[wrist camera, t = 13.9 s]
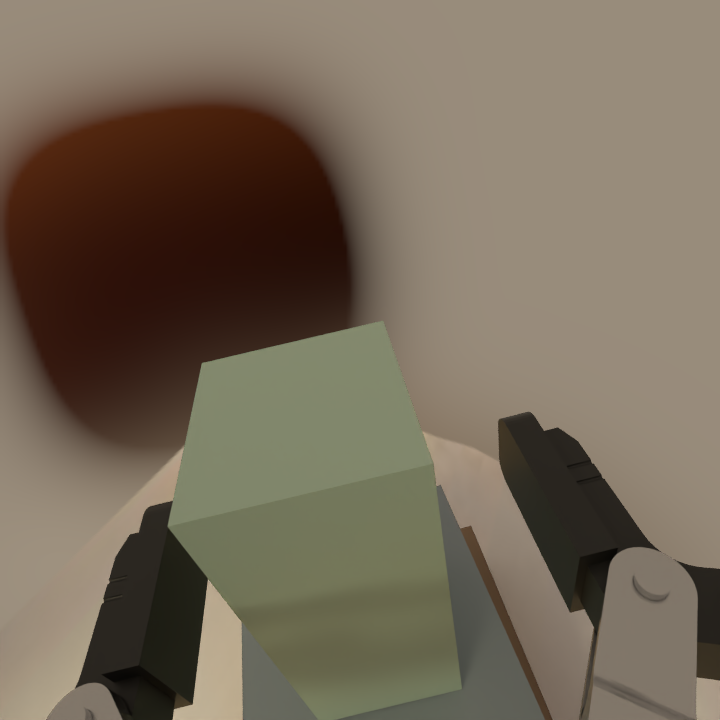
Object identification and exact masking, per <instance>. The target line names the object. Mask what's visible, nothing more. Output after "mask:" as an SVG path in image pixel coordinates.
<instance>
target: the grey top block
mask: <svg viewBox="0 0 720 720" xmlns="http://www.w3.org/2000/svg"><path fill="white" fill-rule="evenodd" d="M436 488H437V496H438V504H439V512H440V520H441V528H442V536H443V543H444V551H445V559H446V567H447V575H448V583H449V590H450V598H451V606H452V614H453V622H454V630H455V638H456V645H457V653H458V661H459V669H460V677H461V685H462V689H461V690H457V691H453V692H448V693H444V694H440V695H436V696H432V697H428V698H423V699H419V700H415V701H411V702H407V703H403V704H398V705H394V706H390V707H386V708H382V709H378V710H374V711H369V712H365V713H361V714H357V715H353V716H349V717H344V718H340V719H336V720H545V718H544V716H543V714H542V712H541V709H540V707H539V705H538V703H537V700H536V698H535V696H534V694H533V691H532V689H531V687H530V685H529V682H528V680H527V678H526V676H525V674H524V671H523V669H522V667H521V665H520V662H519V660H518V658H517V656H516V653H515V651H514V649H513V647H512V644H511V642H510V640H509V638H508V635H507V633H506V631H505V629H504V626H503V624H502V622H501V620H500V617H499V615H498V613H497V611H496V608H495V606H494V604H493V602H492V599H491V597H490V595H489V593H488V590H487V588H486V586H485V584H484V582H483V579H482V577H481V575H480V573H479V570H478V568H477V566H476V564H475V561H474V559H473V557H472V555H471V552H470V550H469V548H468V546H467V543H466V541H465V539H464V537H463V534H462V532H461V530H460V528H459V525H458V523H457V521H456V519H455V516H454V514H453V512H452V510H451V507H450V505H449V503H448V501H447V498H446V496H445V494H444V492H443V490H442V487H441V485H439V486H436ZM242 679H243V720H318V719H317V718H316V716H315V715H314V714H313V712H312V711H311V710H310V709H309V707H308V706H307V705H306V704H305V702H304V701H303V700H302V698H301V697H300V696H299V695H298V693H297V692H296V691H295V689H294V688H293V687H292V686H291V684H290V683H289V682H288V680H287V679H286V678H285V677H284V675H283V674H282V673H281V671H280V670H279V669H278V668H277V666H276V665H275V664H274V662H273V661H272V660H271V659H270V657H269V656H268V655H267V654H266V652H265V651H264V650H263V648H262V647H261V646H260V645H259V643H258V642H257V641H256V639H255V638H254V637H253V636H252V634H251V633H250V632H249V630H248V629H247V628H246V627H245V625H244V624H243V623H242Z"/></svg>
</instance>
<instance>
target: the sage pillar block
mask: <svg viewBox="0 0 720 720" xmlns="http://www.w3.org/2000/svg"><path fill="white" fill-rule="evenodd" d="M168 528H169V529H170V530H171V532H172V533H173V534H174V536H175V537H176V538H177V539H178V541H179V542H180V543H181V545H182V546H183V547H184V548H185V550H186V551H187V552H188V553H189V555H190V556H191V557H192V559H193V560H194V561H195V562H196V564H197V565H198V566H199V568H200V569H201V570H202V571H203V573H204V574H205V575H206V577H207V578H208V579H209V580H210V582H211V583H212V584H213V586H214V587H215V588H216V589H217V591H218V592H219V593H220V595H221V596H222V597H223V598H224V600H225V601H226V602H227V603H228V605H229V606H230V607H231V609H232V610H233V611H234V612H235V614H236V615H237V616H238V618H239V619H240V620H241V621H242V623H243V624H244V625H245V627H246V628H247V629H248V630H249V632H250V633H251V634H252V636H253V637H254V638H255V639H256V641H257V642H258V643H259V645H260V646H261V647H262V648H263V650H264V651H265V652H266V654H267V655H268V656H269V657H270V659H271V660H272V661H273V662H274V664H275V665H276V666H277V668H278V669H279V670H280V671H281V673H282V674H283V675H284V677H285V678H286V679H287V680H288V682H289V683H290V684H291V686H292V687H293V688H294V689H295V691H296V692H297V693H298V695H299V696H300V697H301V698H302V700H303V701H304V702H305V704H306V705H307V706H308V707H309V709H310V710H311V711H312V712H313V714H314V715H315V716H316V718H317V719H318V720H336V719H340V718H344V717H349V716H353V715H357V714H361V713H365V712H369V711H374V710H378V709H382V708H386V707H390V706H394V705H398V704H403V703H407V702H411V701H415V700H419V699H423V698H428V697H432V696H436V695H440V694H444V693H448V692H453V691H457V690H461V689H462V685H461V677H460V669H459V661H458V653H457V645H456V638H455V630H454V622H453V614H452V606H451V598H450V590H449V583H448V575H447V567H446V559H445V551H444V543H443V536H442V528H441V520H440V512H439V504H438V496H437V488H436V481H435V473H434V465H433V461H432V458H431V456H430V453H429V450H428V447H427V444H426V441H425V438H424V436H423V433H422V430H421V427H420V424H419V421H418V419H417V416H416V413H415V410H414V407H413V405H412V402H411V399H410V396H409V393H408V390H407V387H406V384H405V382H404V379H403V376H402V373H401V370H400V368H399V365H398V362H397V359H396V356H395V353H394V350H393V347H392V345H391V342H390V339H389V336H388V333H387V331H386V327H385V325H384V322H383V321H380V322H376V323H372V324H367V325H363V326H359V327H354V328H351V329H346V330H342V331H337V332H333V333H329V334H325V335H320V336H316V337H312V338H308V339H304V340H299V341H295V342H291V343H286V344H282V345H278V346H274V347H269V348H265V349H261V350H256V351H253V352H248V353H244V354H240V355H235V356H231V357H227V358H222V359H218V360H214V361H210V362H205V363H202V366H201V371H200V376H199V380H198V385H197V390H196V394H195V399H194V404H193V409H192V413H191V418H190V423H189V427H188V433H187V437H186V442H185V446H184V451H183V456H182V460H181V465H180V470H179V475H178V479H177V484H176V489H175V494H174V498H173V503H172V508H171V512H170V517H169V522H168Z"/></svg>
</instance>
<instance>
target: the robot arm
mask: <svg viewBox="0 0 720 720" xmlns="http://www.w3.org/2000/svg"><path fill="white" fill-rule="evenodd" d="M498 431H499V432H498V433H499V460H500V465H501V469H502V472H503V475H504V478H505V480H506V483H507V485H508V487H509V489H510V491H511V493H512V495H513V497H514V499H515V501H516V503H517V505H518V507H519V509H520V511H521V513H522V515H523V517H524V519H525V521H526V524H527V526H528V528H529V530H530V532H531V534H532V536H533V538H534V540H535V542H536V544H537V546H538V548H539V550H540V552H541V554H542V556H543V558H544V560H545V562H546V564H547V566H548V568H549V570H550V572H551V574H552V577H553V579H554V581H555V583H556V585H557V587H558V589H559V591H560V593H561V595H562V597H563V599H564V601H565V603H566V605H567V607H568V609H569V611H570V612H574V611H578V610H582V609H585V611H586V613H587V615H588V616H589V618H590V620H591V622H592V624H593V626H594V629H593V635H592V641H591V647H590V654H589V660H588V666H587V673H586V679H585V685H584V691H583V698H582V704H581V710H580V716H579V720H697V718H696V677H699V678H706V679H714V680H720V569H714V568H702V567H695V566H691V565H687V564H684V563H681V562H678V561H676V560H674V559H672V558H671V557H669V556H667V555H666V554H664V553H662V552H661V551H659V550H658V549H657V548H655V547H654V546H653V545H652V544H651V543H650V542H649V541H648V540H647V538H646V537H645V536H644V535H643V533H642V532H641V530H640V529H639V527H637V525H636V523H635V522H634V520H633V519H632V518H631V516H630V515H629V513H628V512H627V510H626V509H625V508H624V506H623V505H622V503H621V502H620V500H619V499H618V498H617V496H616V495H615V493H614V492H613V491H612V489H611V488H610V486H609V485H608V484H607V482H606V481H605V479H603V478H602V476H601V474H600V473H599V471H598V470H597V468H596V466H595V465H594V464H592V463H591V460H590V458H589V457H588V455H587V454H586V452H585V451H584V450H583V448H582V447H581V445H580V444H579V442H578V441H577V440H575V439H574V438H572V437H571V436H569V435H568V434H566V433H565V432H564V431H562V430H561V429H559V428H554V429H551V430H547V431H543V429H542V427H541V426H540V424H539V423H538V421H537V420H536V418H535V417H534V415H533V414H532V413H531V412H526V413H522V414H518V415H514V416H510V417H506V418H502V419H499V421H498ZM172 503H173V501H170V502H166V503H162V504H158V505H154V506H150V507H148V508H147V509H146V511H145V513H144V515H143V519H142V523H141V526H140V530H139V533H135V534H131V535H129V537H128V539H127V540H126V542H125V543H124V545H123V546H122V548H121V549H120V551H119V553H118V554H117V556H116V558H115V561H114V564H113V568H112V571H111V575H110V578H109V581H110V583H109V584H108V585H107V588H106V591H105V595H104V598H103V599H104V603H103V604H102V605H101V608H100V612H99V615H98V618H97V622H96V625H95V629H94V632H93V635H92V639H91V642H90V645H89V649H88V652H87V656H86V659H85V662H84V666H83V669H82V672H81V675H80V678H79V681H78V683H77V686H76V688H75V689H74V690H73V691H71V692H70V693H68V694H67V695H66V696H65V697H64V698H63V699H62V700H61V701H60V702H59V703H58V704H57V705H56V706H55V708H54V709H53V710H52V712H51V713H50V714H49V716H48V717H47V719H46V720H172V719H173V712H174V709H176V708H180V707H184V706H188V705H192V704H193V697H194V688H195V680H196V672H197V664H198V656H199V647H200V639H201V631H202V623H203V614H204V606H205V598H206V590H207V582H208V578H207V577H206V575H205V574H204V573H203V571H202V570H201V569H200V568H199V566H198V565H197V564H196V562H195V561H194V560H193V559H192V557H191V556H190V555H189V553H188V552H187V551H186V550H185V548H184V547H183V546H182V545H181V543H180V542H179V541H178V539H177V538H176V537H175V536H174V534H173V533H172V532H171V530H170V529H169V528H168V522H169V517H170V512H171V508H172Z"/></svg>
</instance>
